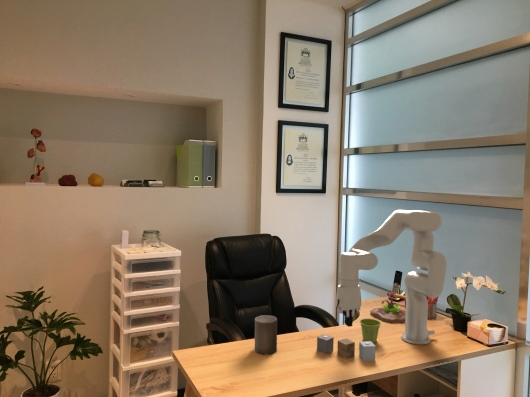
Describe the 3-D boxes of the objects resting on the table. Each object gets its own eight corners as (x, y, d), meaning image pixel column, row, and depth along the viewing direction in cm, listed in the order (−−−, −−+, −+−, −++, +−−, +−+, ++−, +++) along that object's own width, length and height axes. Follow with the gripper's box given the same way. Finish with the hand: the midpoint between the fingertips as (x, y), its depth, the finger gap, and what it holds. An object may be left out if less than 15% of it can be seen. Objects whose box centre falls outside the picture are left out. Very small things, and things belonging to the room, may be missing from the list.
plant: (419, 320, 219) (420, 300, 218) (389, 325, 211) (390, 304, 210) (393, 309, 237) (394, 290, 237) (365, 313, 229) (365, 293, 229)
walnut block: (346, 352, 177) (346, 338, 177) (354, 356, 173) (354, 342, 173) (337, 354, 175) (337, 340, 175) (345, 359, 171) (345, 344, 170)
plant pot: (381, 345, 185) (381, 326, 184) (359, 343, 187) (359, 324, 186) (379, 337, 194) (380, 319, 193) (358, 335, 196) (359, 317, 195)
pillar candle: (281, 351, 176) (281, 317, 176) (261, 356, 171) (262, 320, 171) (269, 344, 185) (269, 310, 184) (250, 348, 180) (250, 314, 179)
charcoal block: (323, 347, 182) (324, 333, 182) (333, 350, 178) (333, 336, 178) (316, 350, 178) (317, 336, 178) (326, 354, 175) (326, 339, 174)
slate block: (370, 355, 175) (371, 340, 174) (375, 360, 170) (375, 345, 169) (359, 355, 174) (359, 341, 174) (363, 360, 169) (363, 345, 169)
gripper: (359, 278, 179) (358, 320, 180) (328, 281, 174) (328, 324, 175) (369, 282, 172) (368, 326, 173) (338, 286, 167) (337, 331, 168)
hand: (348, 325), depth 174 cm, fingers closed
